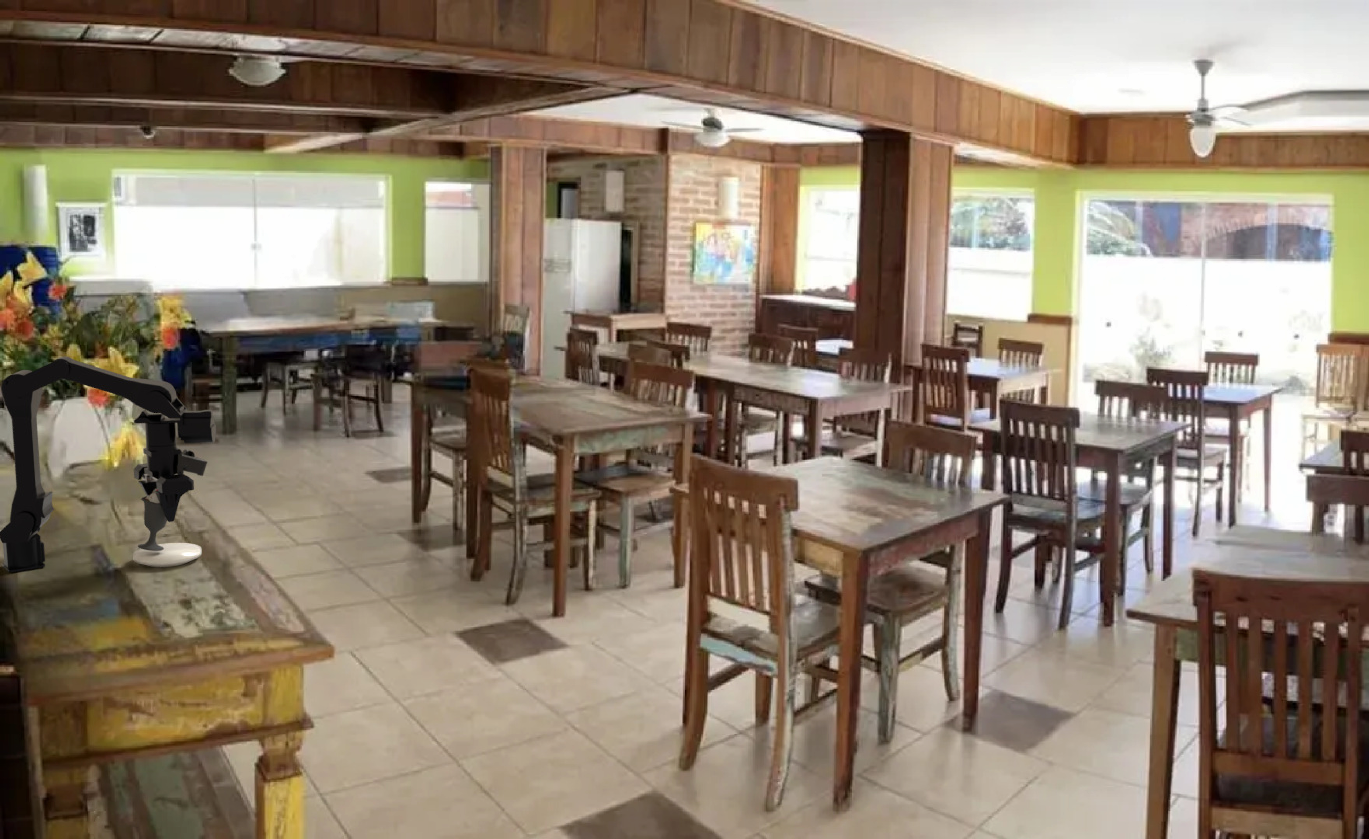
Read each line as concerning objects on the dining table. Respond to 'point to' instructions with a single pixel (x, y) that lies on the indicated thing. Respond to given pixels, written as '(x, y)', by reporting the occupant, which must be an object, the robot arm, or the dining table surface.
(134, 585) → the dining table surface
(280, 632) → the dining table surface
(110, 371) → the robot arm
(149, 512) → the sundae
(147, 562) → the stand
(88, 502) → the dining table surface
